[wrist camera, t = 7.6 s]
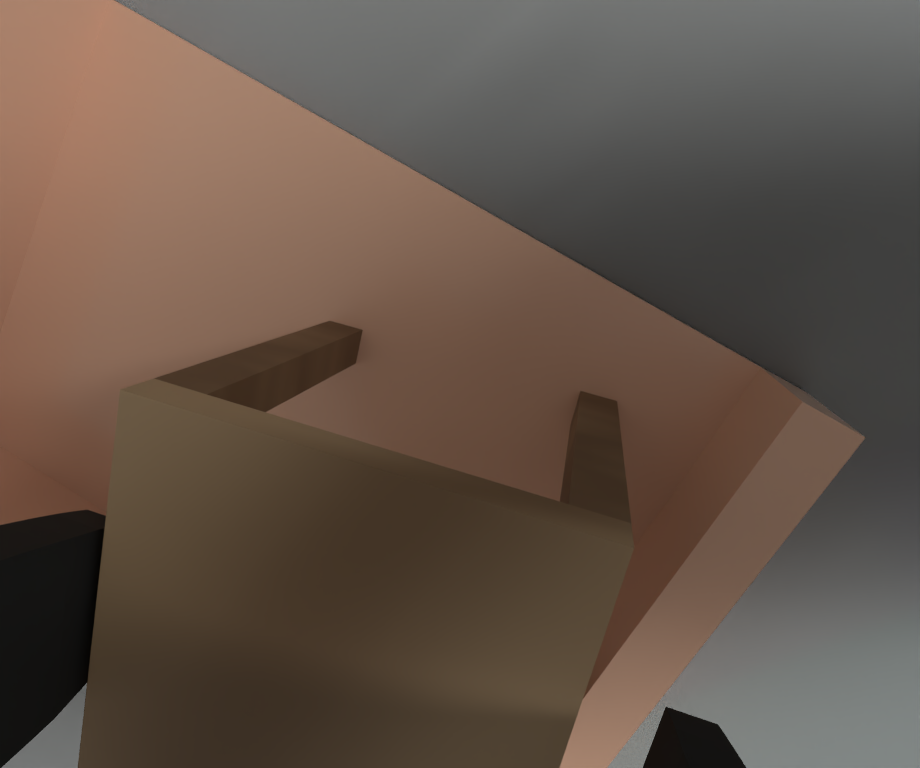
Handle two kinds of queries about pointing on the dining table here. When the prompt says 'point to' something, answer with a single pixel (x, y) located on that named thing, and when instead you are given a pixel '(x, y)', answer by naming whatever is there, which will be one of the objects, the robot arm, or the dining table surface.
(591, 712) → the tray
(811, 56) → the dining table surface
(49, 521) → the robot arm
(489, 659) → the brown stool
